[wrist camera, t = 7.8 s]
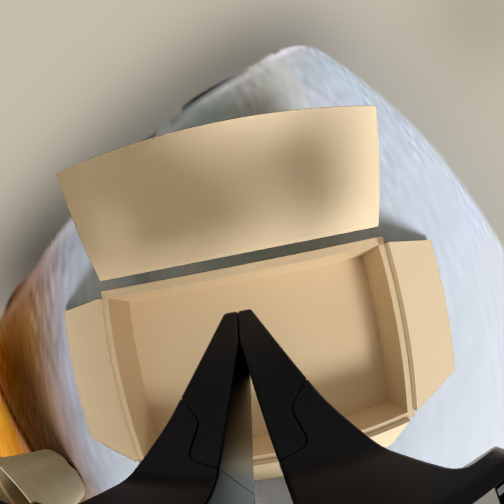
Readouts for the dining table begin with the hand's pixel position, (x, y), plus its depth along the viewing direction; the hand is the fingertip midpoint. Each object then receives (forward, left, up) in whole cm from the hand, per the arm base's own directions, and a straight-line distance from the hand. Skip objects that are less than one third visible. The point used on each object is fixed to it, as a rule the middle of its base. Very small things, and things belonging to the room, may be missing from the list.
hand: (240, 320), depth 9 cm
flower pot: (-14, +22, -10) cm, 28 cm away
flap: (+4, 0, -6) cm, 7 cm away
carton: (-5, 0, -10) cm, 11 cm away
